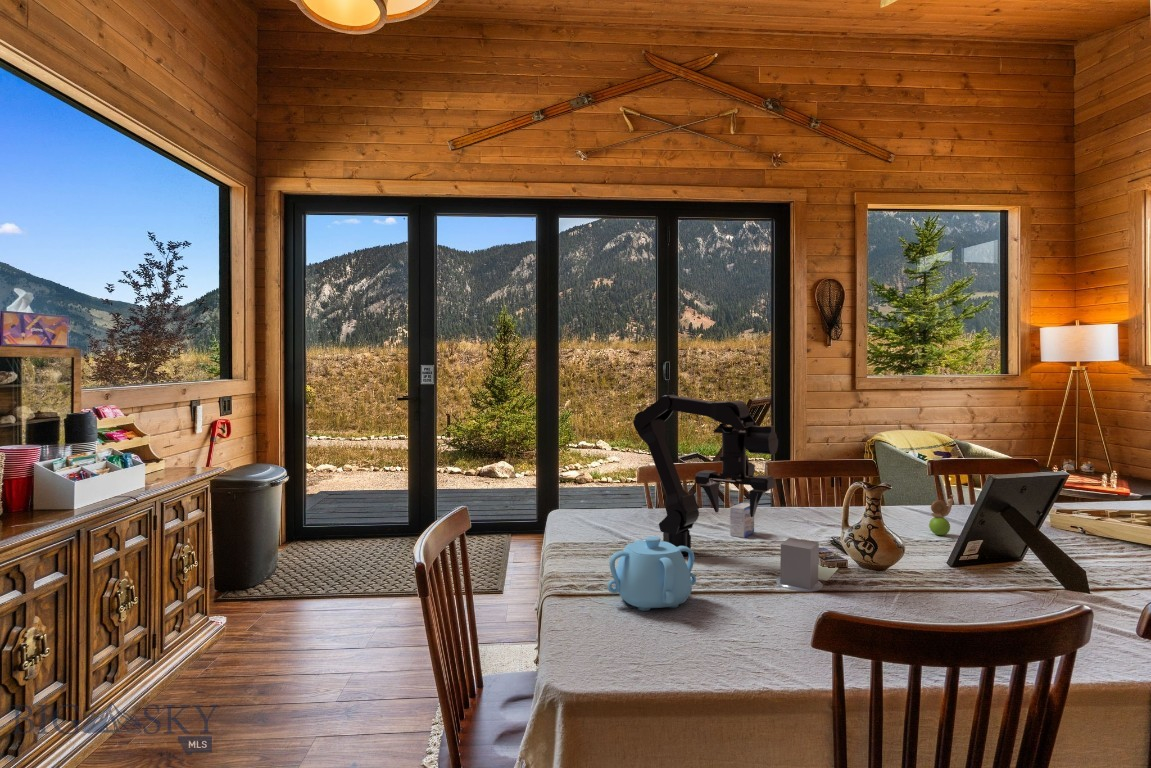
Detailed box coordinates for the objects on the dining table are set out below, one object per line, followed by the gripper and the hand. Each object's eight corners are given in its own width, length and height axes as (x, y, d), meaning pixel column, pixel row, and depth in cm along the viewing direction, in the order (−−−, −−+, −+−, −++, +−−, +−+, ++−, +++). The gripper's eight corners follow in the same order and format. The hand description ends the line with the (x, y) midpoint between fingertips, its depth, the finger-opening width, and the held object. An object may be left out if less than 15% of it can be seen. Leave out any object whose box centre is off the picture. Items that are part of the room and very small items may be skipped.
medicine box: (744, 538, 184) (744, 508, 184) (729, 535, 187) (729, 506, 186) (754, 532, 190) (754, 503, 190) (740, 530, 193) (740, 501, 193)
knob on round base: (796, 595, 139) (796, 579, 139) (766, 580, 148) (767, 565, 148) (832, 589, 142) (832, 573, 142) (801, 575, 152) (801, 560, 152)
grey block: (780, 583, 144) (780, 544, 144) (789, 575, 150) (789, 537, 150) (810, 589, 141) (810, 549, 140) (818, 581, 146) (818, 542, 146)
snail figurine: (957, 537, 186) (958, 496, 185) (935, 537, 186) (936, 496, 186) (946, 532, 191) (947, 493, 191) (925, 532, 191) (926, 492, 191)
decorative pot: (668, 623, 124) (669, 554, 123) (599, 604, 133) (599, 539, 133) (703, 598, 137) (704, 536, 136) (638, 582, 146) (639, 524, 146)
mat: (779, 573, 154) (779, 571, 154) (792, 561, 163) (792, 559, 163) (827, 582, 147) (827, 580, 147) (838, 569, 156) (838, 568, 156)
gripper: (782, 450, 159) (782, 513, 159) (712, 446, 170) (713, 504, 170) (766, 455, 150) (766, 522, 150) (693, 450, 161) (694, 512, 161)
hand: (734, 514), depth 158 cm, fingers open, 9 cm apart
